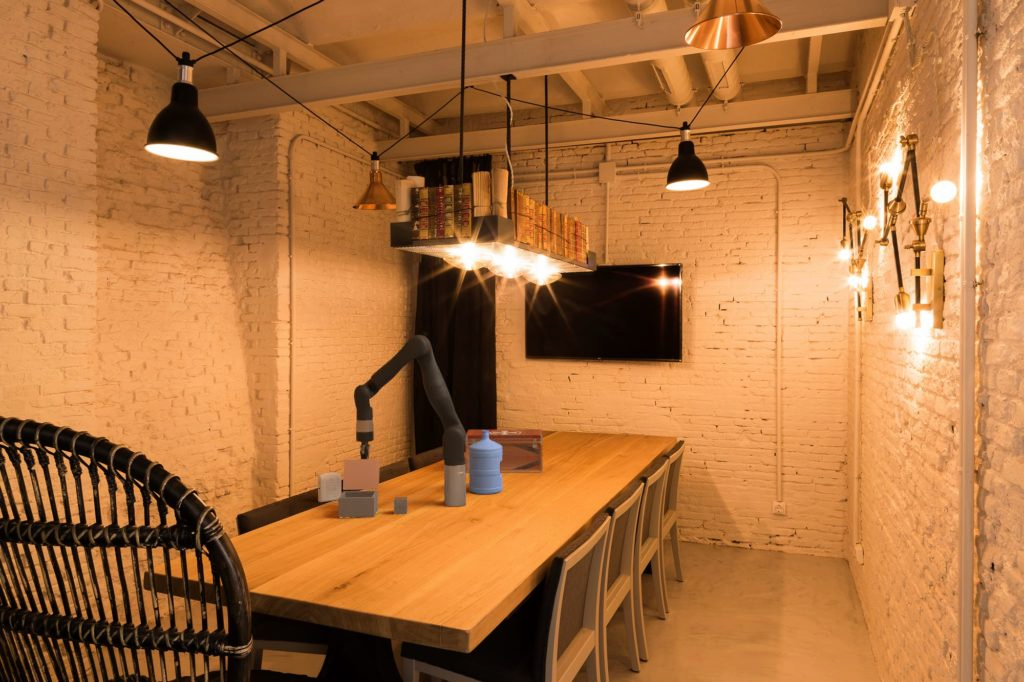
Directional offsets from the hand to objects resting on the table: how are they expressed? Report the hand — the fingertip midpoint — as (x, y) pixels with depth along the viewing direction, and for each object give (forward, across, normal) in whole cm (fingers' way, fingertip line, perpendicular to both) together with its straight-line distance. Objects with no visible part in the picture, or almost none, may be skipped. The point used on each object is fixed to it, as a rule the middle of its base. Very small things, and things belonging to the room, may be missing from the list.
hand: (365, 469), depth 297 cm
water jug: (+14, +15, -53) cm, 57 cm away
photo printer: (+14, +4, +16) cm, 22 cm away
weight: (+14, -20, -17) cm, 30 cm away
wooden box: (+14, +64, -65) cm, 92 cm away
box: (+14, -20, 0) cm, 24 cm away
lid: (0, -11, 0) cm, 12 cm away
